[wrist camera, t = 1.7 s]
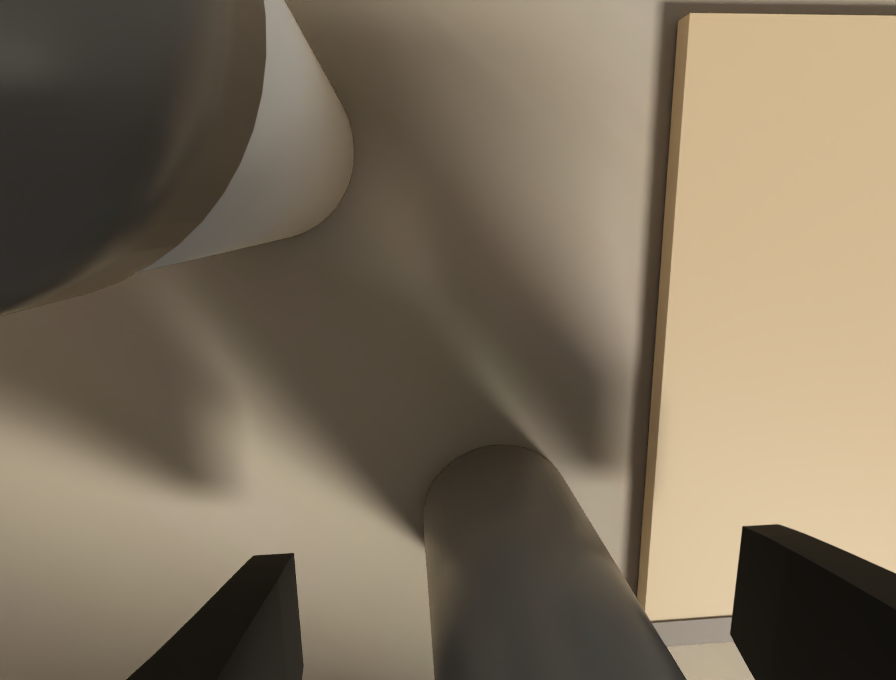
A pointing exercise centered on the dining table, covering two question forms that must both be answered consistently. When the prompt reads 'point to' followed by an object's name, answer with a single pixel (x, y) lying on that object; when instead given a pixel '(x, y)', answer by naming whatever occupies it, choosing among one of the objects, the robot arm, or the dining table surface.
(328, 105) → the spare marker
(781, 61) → the notepad
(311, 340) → the dining table surface
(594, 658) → the cylinder
